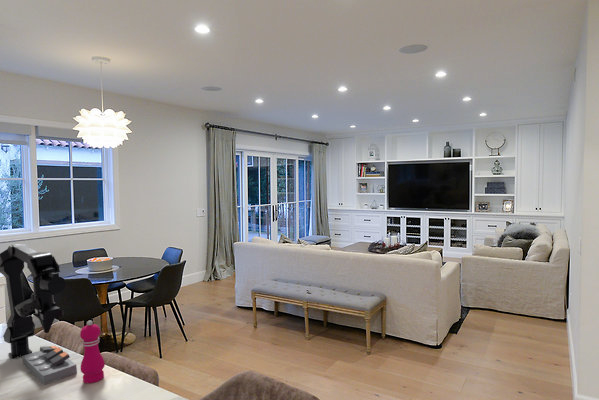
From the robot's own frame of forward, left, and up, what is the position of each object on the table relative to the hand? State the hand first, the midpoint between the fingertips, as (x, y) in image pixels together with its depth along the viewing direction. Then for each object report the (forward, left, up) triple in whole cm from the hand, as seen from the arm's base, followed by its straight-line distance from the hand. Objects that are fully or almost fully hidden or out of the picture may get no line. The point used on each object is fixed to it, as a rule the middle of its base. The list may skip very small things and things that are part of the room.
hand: (46, 332), depth 143 cm
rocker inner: (-6, +2, -9) cm, 11 cm away
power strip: (0, 0, -13) cm, 13 cm away
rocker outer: (+6, +2, -9) cm, 11 cm away
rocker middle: (0, +2, -9) cm, 9 cm away
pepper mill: (+21, +7, -13) cm, 26 cm away
